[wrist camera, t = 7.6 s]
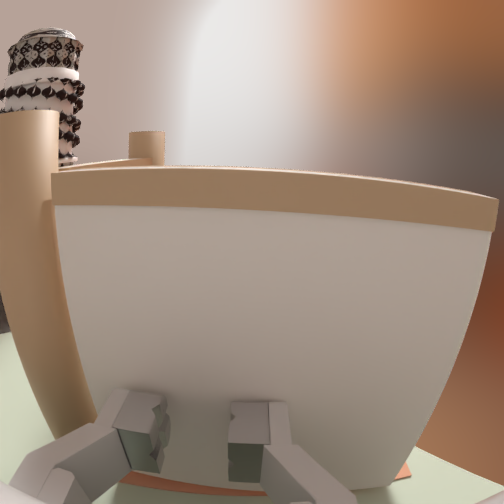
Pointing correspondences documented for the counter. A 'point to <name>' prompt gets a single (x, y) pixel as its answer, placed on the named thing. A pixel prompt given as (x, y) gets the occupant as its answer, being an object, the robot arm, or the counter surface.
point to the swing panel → (272, 303)
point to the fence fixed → (46, 261)
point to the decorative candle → (47, 82)
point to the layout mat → (206, 497)
